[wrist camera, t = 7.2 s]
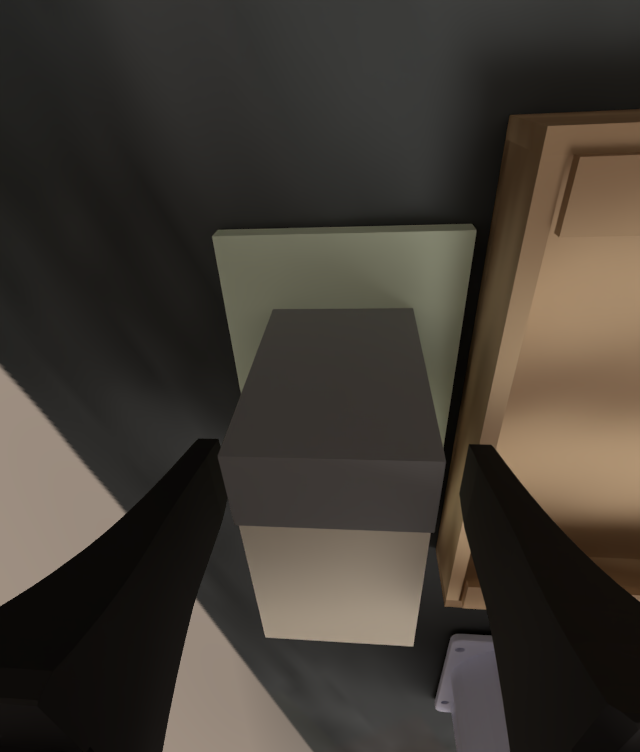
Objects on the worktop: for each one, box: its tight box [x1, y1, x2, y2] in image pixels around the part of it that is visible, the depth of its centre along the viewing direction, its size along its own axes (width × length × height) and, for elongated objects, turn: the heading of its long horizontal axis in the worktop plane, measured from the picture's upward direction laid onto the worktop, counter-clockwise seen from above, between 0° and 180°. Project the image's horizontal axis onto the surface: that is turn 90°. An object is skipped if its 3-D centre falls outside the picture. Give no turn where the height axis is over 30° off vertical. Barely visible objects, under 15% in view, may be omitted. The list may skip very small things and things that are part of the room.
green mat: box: [212, 224, 477, 447], centre depth 15 cm, size 12×7×1 cm, turn 3°
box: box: [218, 308, 446, 647], centre depth 12 cm, size 7×4×6 cm, turn 3°
